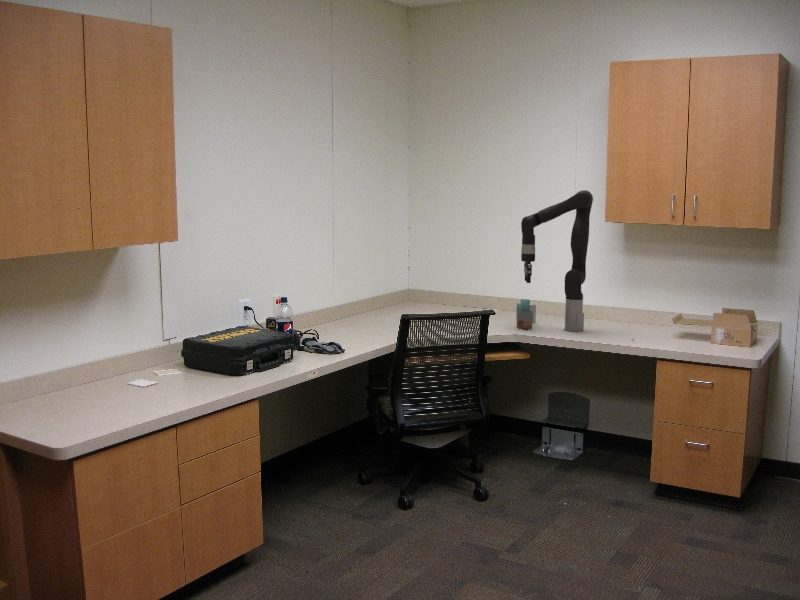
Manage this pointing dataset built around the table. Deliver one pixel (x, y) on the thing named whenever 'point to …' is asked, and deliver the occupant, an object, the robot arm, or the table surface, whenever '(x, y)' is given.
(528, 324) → the walnut base block
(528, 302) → the teal cylinder
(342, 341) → the table surface
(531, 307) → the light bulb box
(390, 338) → the table surface
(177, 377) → the table surface
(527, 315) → the grey top block
